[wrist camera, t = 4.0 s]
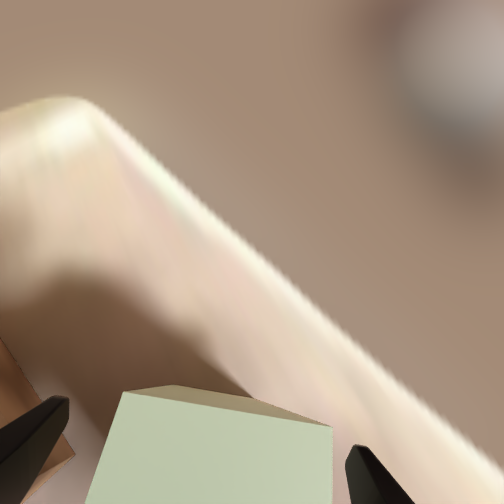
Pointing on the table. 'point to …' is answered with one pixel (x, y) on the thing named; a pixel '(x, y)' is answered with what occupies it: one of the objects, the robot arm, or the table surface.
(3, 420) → the walnut base plate
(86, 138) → the table surface
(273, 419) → the sage pillar
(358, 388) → the table surface
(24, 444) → the robot arm
